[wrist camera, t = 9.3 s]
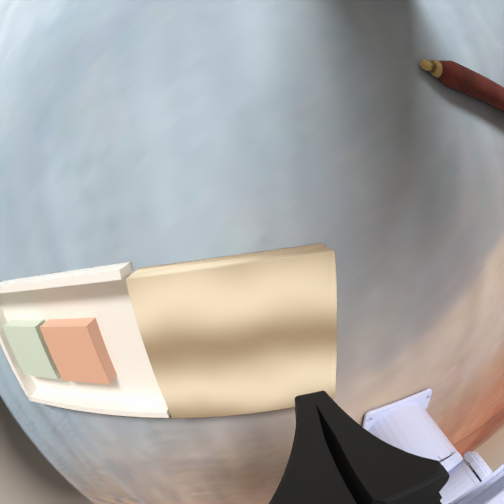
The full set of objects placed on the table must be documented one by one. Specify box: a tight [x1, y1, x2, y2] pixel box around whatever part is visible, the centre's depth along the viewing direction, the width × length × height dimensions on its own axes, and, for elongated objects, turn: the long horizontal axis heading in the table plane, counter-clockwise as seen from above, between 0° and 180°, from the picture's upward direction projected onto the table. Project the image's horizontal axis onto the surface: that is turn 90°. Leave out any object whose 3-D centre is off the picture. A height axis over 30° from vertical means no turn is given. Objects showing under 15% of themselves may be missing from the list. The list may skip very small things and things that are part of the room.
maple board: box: [125, 243, 337, 418], centre depth 17 cm, size 11×12×2 cm
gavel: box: [420, 59, 504, 111], centre depth 14 cm, size 21×5×10 cm
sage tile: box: [2, 319, 61, 379], centre depth 17 cm, size 5×5×2 cm
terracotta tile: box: [40, 317, 116, 384], centre depth 17 cm, size 5×5×2 cm
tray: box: [0, 262, 170, 418], centre depth 17 cm, size 12×16×2 cm
